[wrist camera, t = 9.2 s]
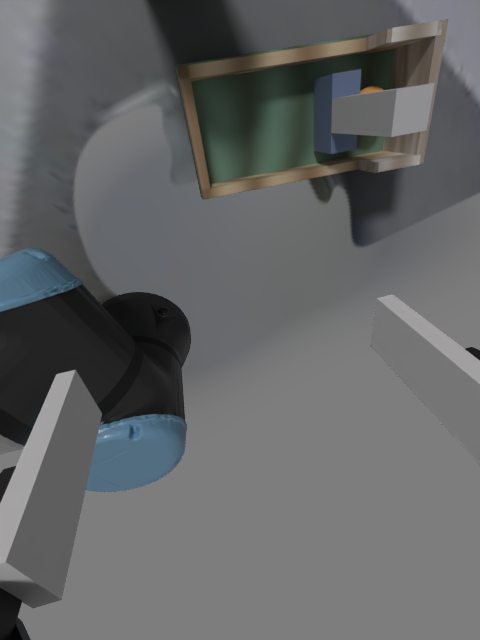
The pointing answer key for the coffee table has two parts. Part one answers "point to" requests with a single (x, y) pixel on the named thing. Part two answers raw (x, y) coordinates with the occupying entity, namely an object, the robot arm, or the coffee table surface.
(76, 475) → the robot arm
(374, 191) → the coffee table surface
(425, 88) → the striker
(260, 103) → the wooden tray
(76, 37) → the coffee table surface
